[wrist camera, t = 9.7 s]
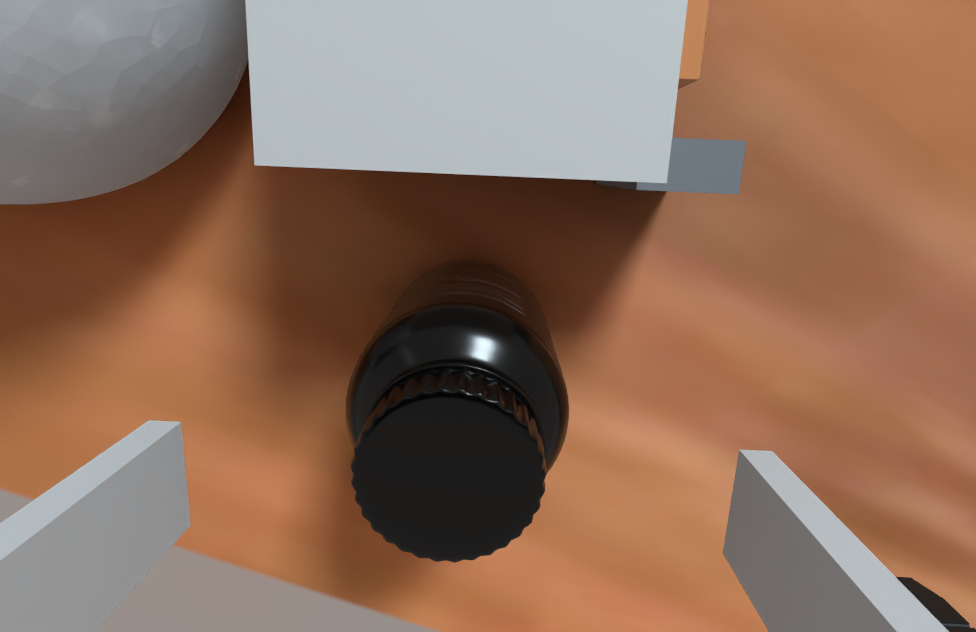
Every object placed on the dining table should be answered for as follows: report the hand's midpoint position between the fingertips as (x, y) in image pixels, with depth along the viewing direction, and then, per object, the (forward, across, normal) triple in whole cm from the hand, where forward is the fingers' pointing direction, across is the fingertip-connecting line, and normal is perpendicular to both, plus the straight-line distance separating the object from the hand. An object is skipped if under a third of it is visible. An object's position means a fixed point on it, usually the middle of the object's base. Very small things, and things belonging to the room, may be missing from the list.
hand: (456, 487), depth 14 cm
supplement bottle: (+12, 0, 0) cm, 12 cm away
